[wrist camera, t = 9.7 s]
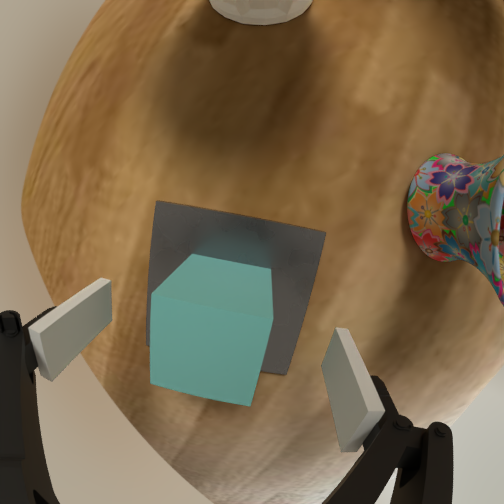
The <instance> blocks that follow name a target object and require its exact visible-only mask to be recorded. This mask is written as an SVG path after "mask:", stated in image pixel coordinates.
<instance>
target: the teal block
mask: <svg viewBox="0 0 504 504" xmlns="http://www.w3.org/2000/svg"><path fill="white" fill-rule="evenodd" d="M272 323H273V300H272V279H271V269H268V268H263V267H258V266H252V265H247V264H242V263H237V262H232V261H227V260H221V259H216V258H211V257H206V256H201V255H196V254H191V255H190V256H189V257H188V258H187V259H186V260H185V261H184V262H183V263H182V264H181V265H180V266H179V267H178V268H177V269H176V270H175V271H174V272H173V273H172V274H171V275H170V276H169V277H168V278H167V279H166V280H165V281H164V282H163V283H162V284H161V285H160V286H159V287H158V288H157V289H156V290H155V291H154V292H153V293H152V294H151V316H150V384H154V385H157V386H160V387H164V388H167V389H171V390H175V391H179V392H182V393H186V394H191V395H195V396H199V397H203V398H208V399H213V400H217V401H222V402H228V403H233V404H239V405H245V406H251V403H252V399H253V395H254V392H255V388H256V384H257V381H258V377H259V373H260V370H261V366H262V362H263V358H264V354H265V350H266V347H267V343H268V339H269V335H270V331H271V327H272Z"/></svg>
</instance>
